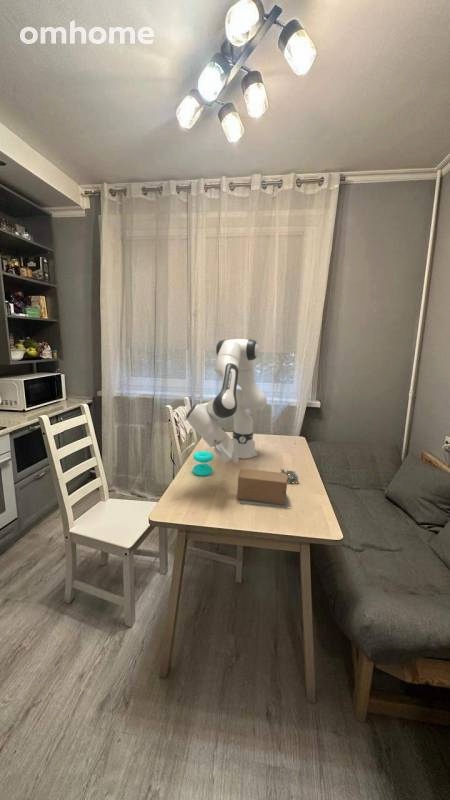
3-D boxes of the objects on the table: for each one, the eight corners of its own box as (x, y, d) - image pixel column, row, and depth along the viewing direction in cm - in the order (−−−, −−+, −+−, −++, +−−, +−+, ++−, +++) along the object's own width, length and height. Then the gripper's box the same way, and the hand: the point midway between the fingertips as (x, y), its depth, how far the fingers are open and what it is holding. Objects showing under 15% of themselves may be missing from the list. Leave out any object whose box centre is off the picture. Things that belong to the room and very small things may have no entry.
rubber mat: (241, 488, 141) (241, 487, 141) (285, 492, 140) (285, 490, 140) (240, 503, 127) (240, 502, 127) (289, 508, 126) (289, 506, 126)
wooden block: (236, 499, 130) (285, 505, 127) (238, 476, 128) (287, 482, 125) (239, 488, 139) (284, 494, 136) (240, 467, 138) (286, 472, 135)
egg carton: (278, 475, 158) (279, 467, 158) (293, 475, 159) (294, 468, 158) (283, 484, 148) (284, 476, 147) (299, 484, 148) (299, 476, 148)
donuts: (193, 457, 149) (193, 450, 158) (193, 476, 150) (192, 468, 160) (214, 457, 150) (212, 450, 160) (213, 476, 152) (211, 468, 162)
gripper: (219, 440, 121) (242, 465, 122) (223, 426, 141) (243, 448, 142) (207, 450, 122) (230, 475, 123) (213, 435, 142) (233, 457, 143)
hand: (237, 461), depth 133 cm, fingers closed
